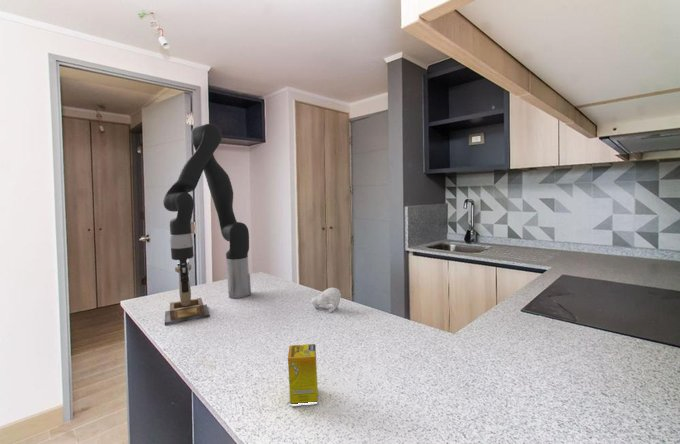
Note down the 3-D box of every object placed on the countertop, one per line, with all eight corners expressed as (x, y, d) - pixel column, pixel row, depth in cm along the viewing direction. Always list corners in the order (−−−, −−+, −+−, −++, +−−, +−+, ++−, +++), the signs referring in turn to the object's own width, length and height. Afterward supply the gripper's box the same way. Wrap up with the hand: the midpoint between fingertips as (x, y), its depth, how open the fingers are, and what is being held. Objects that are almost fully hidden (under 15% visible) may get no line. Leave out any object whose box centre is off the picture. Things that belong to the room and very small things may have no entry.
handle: (196, 302, 128) (193, 264, 127) (187, 308, 122) (184, 268, 120) (184, 302, 128) (181, 264, 127) (175, 308, 122) (172, 268, 121)
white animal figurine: (334, 290, 121) (306, 290, 126) (337, 313, 122) (309, 312, 127) (341, 285, 127) (314, 286, 132) (344, 307, 128) (316, 307, 132)
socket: (206, 306, 134) (206, 296, 134) (210, 316, 123) (209, 305, 122) (165, 313, 128) (164, 302, 127) (164, 325, 116) (163, 313, 116)
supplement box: (291, 390, 75) (289, 345, 74) (317, 388, 76) (315, 343, 75) (289, 407, 69) (287, 358, 68) (318, 405, 70) (316, 356, 69)
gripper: (193, 247, 118) (197, 294, 120) (191, 242, 131) (195, 284, 132) (170, 249, 115) (174, 297, 116) (170, 244, 128) (174, 287, 129)
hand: (185, 290), depth 124 cm, fingers closed on handle, 4 cm apart
